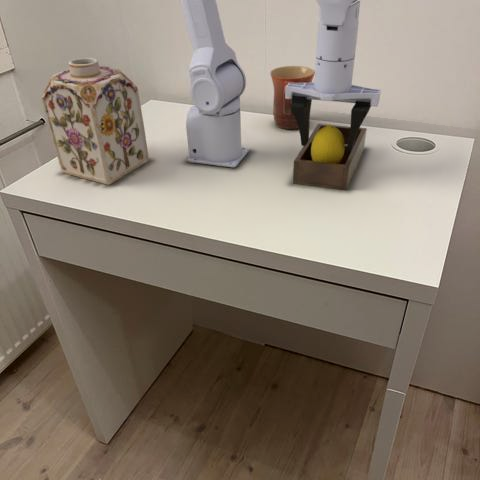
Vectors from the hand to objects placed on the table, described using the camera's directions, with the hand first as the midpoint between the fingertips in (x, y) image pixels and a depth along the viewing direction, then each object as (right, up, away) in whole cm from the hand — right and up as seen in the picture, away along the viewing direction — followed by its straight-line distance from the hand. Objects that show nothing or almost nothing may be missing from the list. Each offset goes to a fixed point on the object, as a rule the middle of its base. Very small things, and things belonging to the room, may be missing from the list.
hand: (327, 146), depth 84 cm
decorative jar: (-39, -1, +9) cm, 40 cm away
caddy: (+2, -1, +6) cm, 7 cm away
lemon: (0, -4, +3) cm, 5 cm away
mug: (-4, +11, +21) cm, 24 cm away
